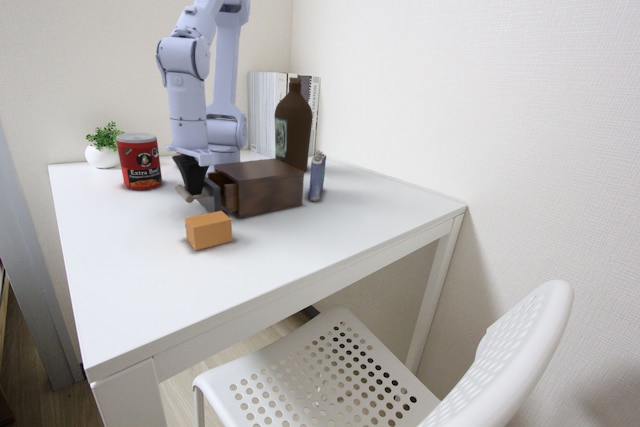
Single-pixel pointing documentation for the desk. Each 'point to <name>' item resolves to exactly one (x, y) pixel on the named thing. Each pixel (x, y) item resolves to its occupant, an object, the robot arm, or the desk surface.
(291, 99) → the olive oil
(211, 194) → the drawer
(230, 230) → the small cardboard box
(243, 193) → the cabinet
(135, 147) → the canned food
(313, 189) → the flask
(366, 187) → the desk surface
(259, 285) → the desk surface
